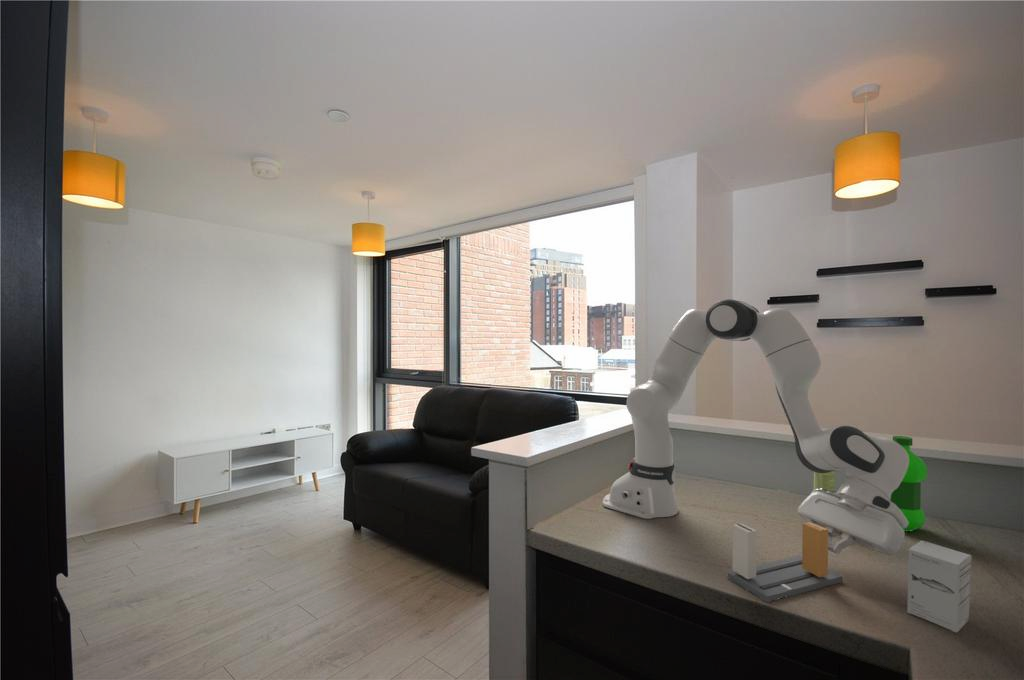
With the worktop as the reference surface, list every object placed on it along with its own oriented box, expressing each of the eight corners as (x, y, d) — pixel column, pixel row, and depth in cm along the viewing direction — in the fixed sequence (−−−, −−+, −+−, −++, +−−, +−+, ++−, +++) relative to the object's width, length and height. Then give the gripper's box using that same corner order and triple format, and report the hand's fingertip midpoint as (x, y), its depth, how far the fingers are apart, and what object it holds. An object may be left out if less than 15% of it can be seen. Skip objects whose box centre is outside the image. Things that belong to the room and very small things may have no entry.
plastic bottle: (897, 535, 121) (898, 441, 121) (868, 519, 132) (869, 433, 132) (937, 536, 121) (938, 442, 121) (905, 520, 131) (906, 433, 131)
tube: (812, 518, 133) (813, 451, 133) (833, 521, 130) (834, 453, 130) (813, 525, 128) (814, 455, 128) (835, 528, 126) (836, 458, 125)
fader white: (747, 579, 97) (748, 531, 97) (732, 570, 100) (732, 524, 100) (756, 577, 98) (756, 529, 97) (741, 568, 101) (741, 522, 101)
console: (767, 602, 91) (767, 595, 91) (727, 577, 101) (727, 571, 101) (842, 581, 99) (842, 575, 99) (799, 560, 108) (799, 554, 108)
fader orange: (819, 577, 97) (820, 530, 97) (802, 568, 101) (802, 522, 101) (827, 575, 98) (828, 528, 98) (809, 566, 102) (810, 521, 102)
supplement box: (905, 613, 88) (906, 547, 88) (920, 601, 92) (921, 538, 92) (957, 634, 82) (958, 564, 81) (971, 620, 86) (972, 553, 85)
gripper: (809, 478, 114) (780, 523, 110) (904, 508, 94) (872, 563, 91) (822, 494, 115) (793, 538, 112) (917, 526, 96) (886, 581, 93)
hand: (829, 550), depth 101 cm, fingers closed
